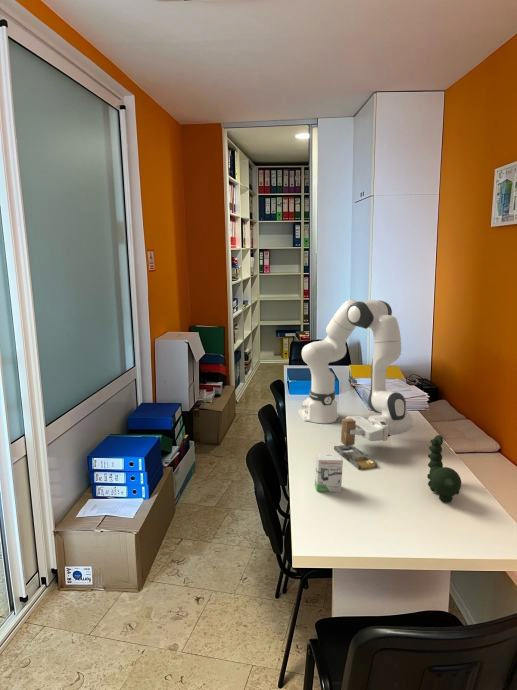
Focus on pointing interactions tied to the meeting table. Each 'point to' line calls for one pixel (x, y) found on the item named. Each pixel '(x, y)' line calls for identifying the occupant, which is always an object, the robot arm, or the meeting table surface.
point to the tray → (356, 457)
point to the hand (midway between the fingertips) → (346, 429)
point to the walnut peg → (347, 432)
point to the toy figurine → (442, 473)
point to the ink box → (328, 472)
